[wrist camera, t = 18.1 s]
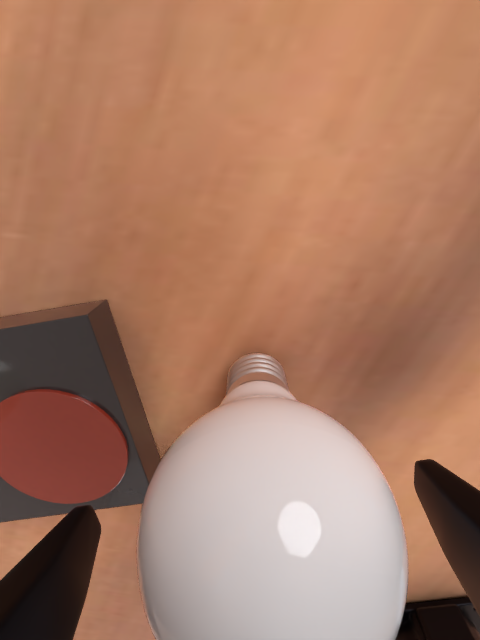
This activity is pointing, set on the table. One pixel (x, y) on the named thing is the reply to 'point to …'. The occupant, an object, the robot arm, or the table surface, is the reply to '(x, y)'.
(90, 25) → the table surface
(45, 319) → the hob
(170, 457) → the lightbulb
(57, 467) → the burner zone
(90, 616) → the table surface
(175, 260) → the table surface
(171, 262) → the table surface
